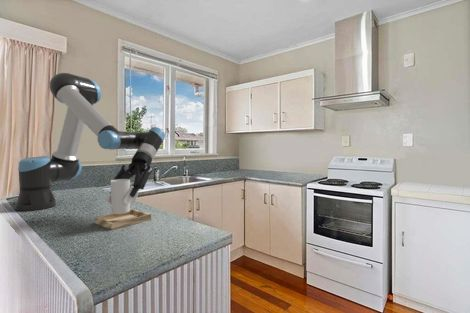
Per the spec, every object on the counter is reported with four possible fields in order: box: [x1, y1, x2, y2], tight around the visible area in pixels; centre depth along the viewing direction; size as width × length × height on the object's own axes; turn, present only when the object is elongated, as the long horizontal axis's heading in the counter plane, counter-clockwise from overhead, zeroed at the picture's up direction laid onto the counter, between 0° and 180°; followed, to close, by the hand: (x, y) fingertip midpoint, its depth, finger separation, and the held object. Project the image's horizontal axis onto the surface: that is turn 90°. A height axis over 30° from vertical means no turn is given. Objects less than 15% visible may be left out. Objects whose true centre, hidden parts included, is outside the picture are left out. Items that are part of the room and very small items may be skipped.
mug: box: [110, 178, 139, 214], centre depth 98 cm, size 10×7×12 cm, turn 131°
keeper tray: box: [94, 209, 152, 231], centre depth 99 cm, size 13×16×2 cm
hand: (117, 202), depth 96 cm, fingers closed on mug, 7 cm apart
